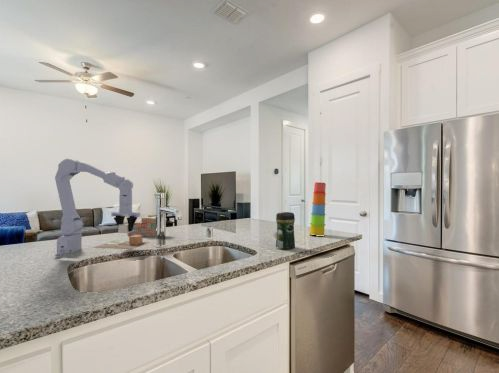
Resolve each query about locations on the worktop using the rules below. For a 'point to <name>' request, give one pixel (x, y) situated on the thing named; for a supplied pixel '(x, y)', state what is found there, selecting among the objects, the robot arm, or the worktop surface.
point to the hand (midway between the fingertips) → (125, 231)
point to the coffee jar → (285, 230)
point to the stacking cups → (318, 209)
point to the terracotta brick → (135, 239)
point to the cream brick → (123, 228)
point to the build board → (120, 245)
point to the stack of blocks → (144, 227)
